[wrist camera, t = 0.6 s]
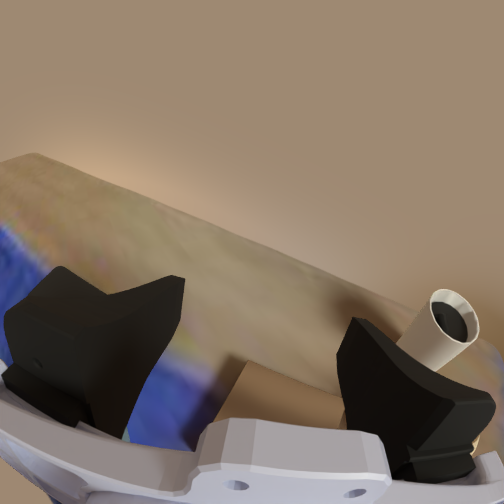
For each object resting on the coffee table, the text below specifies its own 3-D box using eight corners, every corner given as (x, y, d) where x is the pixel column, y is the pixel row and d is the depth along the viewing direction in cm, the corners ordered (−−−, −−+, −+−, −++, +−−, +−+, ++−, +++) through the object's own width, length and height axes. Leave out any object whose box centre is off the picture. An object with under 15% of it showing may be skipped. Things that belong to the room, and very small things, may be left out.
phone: (102, 365, 25) (23, 299, 28) (104, 368, 25) (25, 303, 28) (142, 314, 30) (59, 263, 33) (143, 318, 31) (61, 267, 34)
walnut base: (299, 497, 18) (309, 498, 16) (196, 455, 21) (194, 452, 19) (335, 409, 25) (347, 399, 23) (245, 372, 28) (248, 359, 26)
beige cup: (394, 397, 26) (450, 352, 19) (374, 347, 31) (418, 292, 24) (435, 381, 27) (488, 335, 21) (415, 337, 32) (458, 285, 25)
